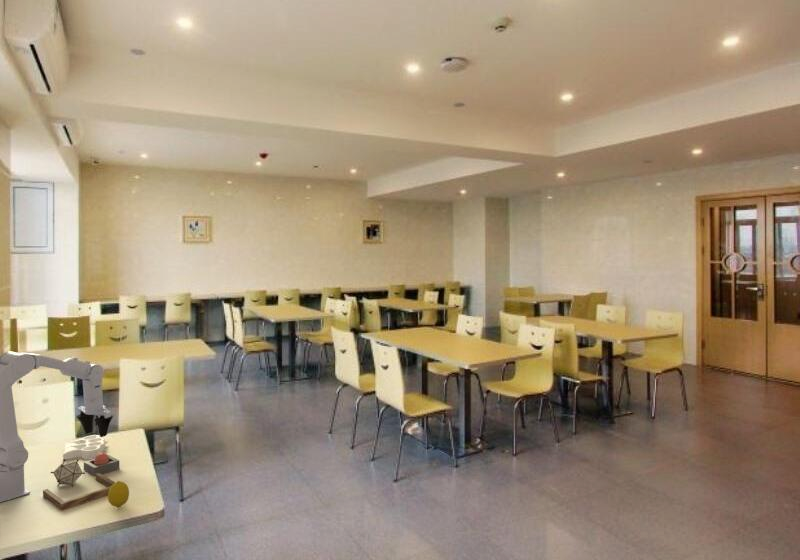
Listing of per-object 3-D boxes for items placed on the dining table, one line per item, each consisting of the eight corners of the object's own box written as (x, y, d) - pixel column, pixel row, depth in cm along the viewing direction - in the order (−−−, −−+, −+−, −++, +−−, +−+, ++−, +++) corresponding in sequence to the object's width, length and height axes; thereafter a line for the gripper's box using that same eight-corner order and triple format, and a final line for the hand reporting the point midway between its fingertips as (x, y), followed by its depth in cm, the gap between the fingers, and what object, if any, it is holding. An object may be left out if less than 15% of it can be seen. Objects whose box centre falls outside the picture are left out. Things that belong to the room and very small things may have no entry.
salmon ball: (97, 469, 181) (97, 456, 181) (92, 466, 184) (91, 453, 184) (111, 465, 185) (110, 452, 184) (105, 462, 187) (105, 449, 187)
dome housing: (94, 476, 179) (94, 467, 178) (83, 470, 184) (83, 461, 183) (119, 468, 185) (119, 460, 185) (108, 462, 190) (108, 454, 190)
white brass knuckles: (64, 447, 205) (108, 441, 212) (62, 464, 189) (109, 456, 197) (64, 439, 205) (108, 432, 212) (62, 455, 189) (109, 447, 197)
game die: (75, 493, 174) (96, 467, 176) (57, 496, 166) (79, 468, 168) (57, 477, 176) (78, 451, 178) (38, 478, 168) (60, 451, 170)
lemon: (124, 501, 162) (123, 475, 161) (132, 507, 158) (132, 480, 158) (104, 508, 157) (104, 481, 157) (113, 514, 154) (112, 487, 153)
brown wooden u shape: (61, 510, 155) (61, 504, 155) (43, 496, 164) (42, 490, 164) (119, 490, 168) (119, 484, 168) (99, 478, 177) (99, 472, 177)
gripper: (117, 396, 188) (120, 433, 190) (89, 391, 194) (92, 427, 196) (99, 402, 182) (102, 440, 184) (71, 397, 188) (74, 434, 189)
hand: (96, 434), depth 189 cm, fingers open, 7 cm apart
